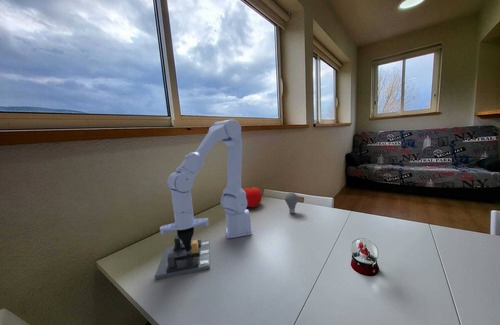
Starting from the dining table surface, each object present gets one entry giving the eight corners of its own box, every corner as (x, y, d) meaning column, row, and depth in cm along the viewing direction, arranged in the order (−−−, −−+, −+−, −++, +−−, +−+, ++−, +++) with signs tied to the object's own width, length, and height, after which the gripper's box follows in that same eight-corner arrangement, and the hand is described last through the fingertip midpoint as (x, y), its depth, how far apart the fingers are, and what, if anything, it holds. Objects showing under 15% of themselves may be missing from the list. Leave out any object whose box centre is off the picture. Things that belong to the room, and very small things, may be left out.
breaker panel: (209, 242, 73) (208, 229, 72) (209, 269, 59) (207, 252, 58) (166, 250, 70) (164, 236, 70) (155, 279, 56) (152, 262, 55)
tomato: (239, 210, 103) (237, 190, 101) (244, 202, 115) (242, 184, 113) (261, 210, 101) (259, 190, 100) (263, 201, 113) (262, 183, 111)
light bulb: (298, 215, 91) (297, 194, 89) (285, 215, 92) (284, 194, 91) (298, 210, 97) (297, 190, 95) (285, 210, 98) (284, 191, 96)
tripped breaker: (198, 248, 66) (197, 239, 66) (198, 252, 64) (196, 243, 63) (192, 249, 66) (191, 240, 65) (192, 253, 63) (191, 244, 63)
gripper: (205, 202, 68) (209, 239, 70) (160, 209, 64) (165, 248, 66) (207, 209, 61) (211, 249, 63) (156, 217, 57) (162, 260, 59)
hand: (188, 249), depth 64 cm, fingers closed
